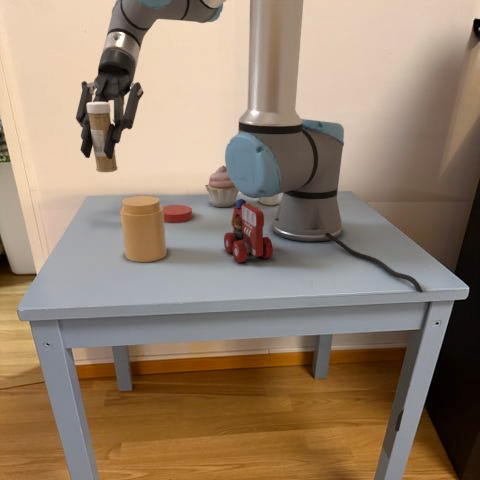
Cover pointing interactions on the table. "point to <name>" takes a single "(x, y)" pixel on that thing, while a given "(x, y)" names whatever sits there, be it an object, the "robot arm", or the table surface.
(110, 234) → the table surface
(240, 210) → the toy fire truck
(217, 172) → the cupcake
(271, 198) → the eye dropper bottle
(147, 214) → the jar
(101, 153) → the sprinkles bottle
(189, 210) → the lid
